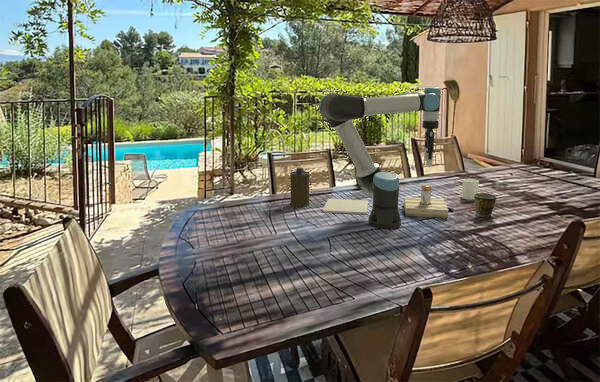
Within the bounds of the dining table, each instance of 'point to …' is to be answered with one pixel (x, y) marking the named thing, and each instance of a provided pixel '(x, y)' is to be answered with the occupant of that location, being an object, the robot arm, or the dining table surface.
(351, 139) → the robot arm
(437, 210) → the block
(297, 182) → the canister
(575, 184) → the dining table surface
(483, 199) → the ceramic cup
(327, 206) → the pad
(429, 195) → the white peg
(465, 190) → the cup
